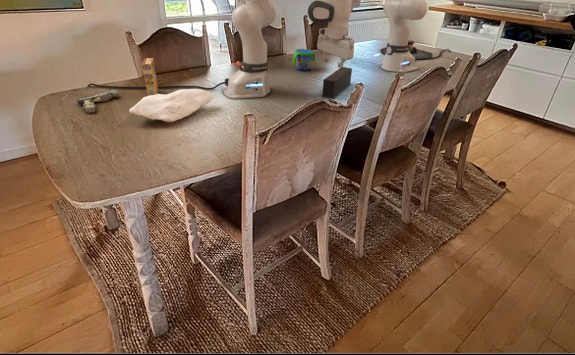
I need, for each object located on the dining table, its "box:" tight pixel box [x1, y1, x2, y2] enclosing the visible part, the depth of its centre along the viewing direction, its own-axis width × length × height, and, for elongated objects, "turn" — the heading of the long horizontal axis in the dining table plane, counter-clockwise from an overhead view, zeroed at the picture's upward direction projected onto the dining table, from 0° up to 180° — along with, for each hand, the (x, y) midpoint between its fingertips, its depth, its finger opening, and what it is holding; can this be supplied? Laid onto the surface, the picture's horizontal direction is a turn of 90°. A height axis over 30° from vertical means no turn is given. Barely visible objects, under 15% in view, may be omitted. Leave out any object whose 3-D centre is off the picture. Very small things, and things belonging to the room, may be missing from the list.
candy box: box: [141, 57, 160, 96], centre depth 163 cm, size 9×4×15 cm, turn 13°
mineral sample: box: [380, 39, 433, 59], centre depth 249 cm, size 35×35×9 cm
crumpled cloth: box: [129, 88, 214, 123], centre depth 147 cm, size 24×35×9 cm
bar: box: [321, 66, 353, 100], centre depth 180 cm, size 26×6×8 cm, turn 153°
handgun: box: [76, 89, 120, 114], centre depth 155 cm, size 3×18×15 cm
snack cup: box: [291, 48, 316, 71], centre depth 207 cm, size 16×10×10 cm
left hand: (332, 64), depth 168 cm, fingers open, 8 cm apart
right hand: (339, 16), depth 191 cm, fingers open, 8 cm apart
